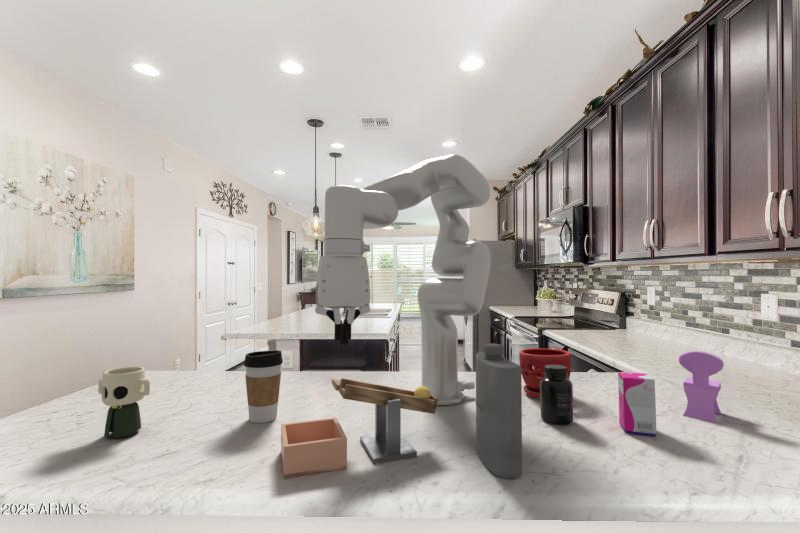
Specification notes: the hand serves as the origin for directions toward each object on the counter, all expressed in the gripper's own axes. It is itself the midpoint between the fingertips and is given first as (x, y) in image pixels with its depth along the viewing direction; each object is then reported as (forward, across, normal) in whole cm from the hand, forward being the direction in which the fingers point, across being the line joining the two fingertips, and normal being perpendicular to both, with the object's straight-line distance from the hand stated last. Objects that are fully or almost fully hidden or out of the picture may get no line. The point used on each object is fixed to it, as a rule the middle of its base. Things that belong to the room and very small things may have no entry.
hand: (342, 343), depth 76 cm
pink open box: (+19, +6, +5) cm, 21 cm away
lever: (+11, -7, +2) cm, 13 cm away
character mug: (+20, +41, -19) cm, 50 cm away
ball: (+10, -15, +5) cm, 18 cm away
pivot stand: (+19, -8, +5) cm, 21 cm away
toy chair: (+19, -83, +12) cm, 86 cm away
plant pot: (+19, -58, -12) cm, 62 cm away
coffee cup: (+19, +14, -19) cm, 31 cm away
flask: (+19, -25, +15) cm, 35 cm away
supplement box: (+19, -60, +14) cm, 64 cm away
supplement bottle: (+19, -48, +4) cm, 51 cm away
